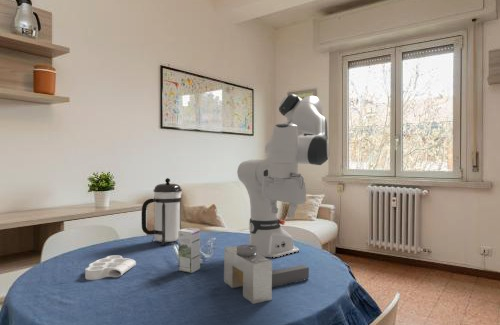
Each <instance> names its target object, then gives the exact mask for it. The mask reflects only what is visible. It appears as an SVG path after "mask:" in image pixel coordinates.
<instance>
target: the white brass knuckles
mask: <svg viewBox="0 0 500 325" xmlns="http://www.w3.org/2000/svg"><path fill="white" fill-rule="evenodd" d="M136 265H137V261H136V260H134V259H132V258H129V257H128V258H125V257H123V256H122V255H120V254H119V255H118V254H117V255H116V254H115V255H107V256H105V257H104V258H100V259H97V260H95V261H94V262H90V263H89V264H88V267H86V268H84V270H85V271H84V272H85V273H84V274H85V277H84V278H85V279H86V280H88V281H96V280H101V279H104V278H119V277H121V276H123V274H125V273H127V271H130V270H131V269H132V268H133V267H135V266H136Z"/></svg>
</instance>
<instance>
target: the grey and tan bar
mask: <svg viewBox="0 0 500 325" xmlns="http://www.w3.org/2000/svg"><path fill="white" fill-rule="evenodd" d="M309 272H310V268H309V267H308V266H306V265H304V264H300V265H296V266H290V267H284V268H278V269H275V270H273V269H272V288H274V286H275V287H279V286H278V285H280V286H284V285H283V284H285V285H288V284H287V283H290V284H292V283H291V282H294V283H297V282H296V281H299V282H301V281H300V280H304V279H308V278H310V277H309V276H310V274H309ZM304 281H305V280H304Z"/></svg>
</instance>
